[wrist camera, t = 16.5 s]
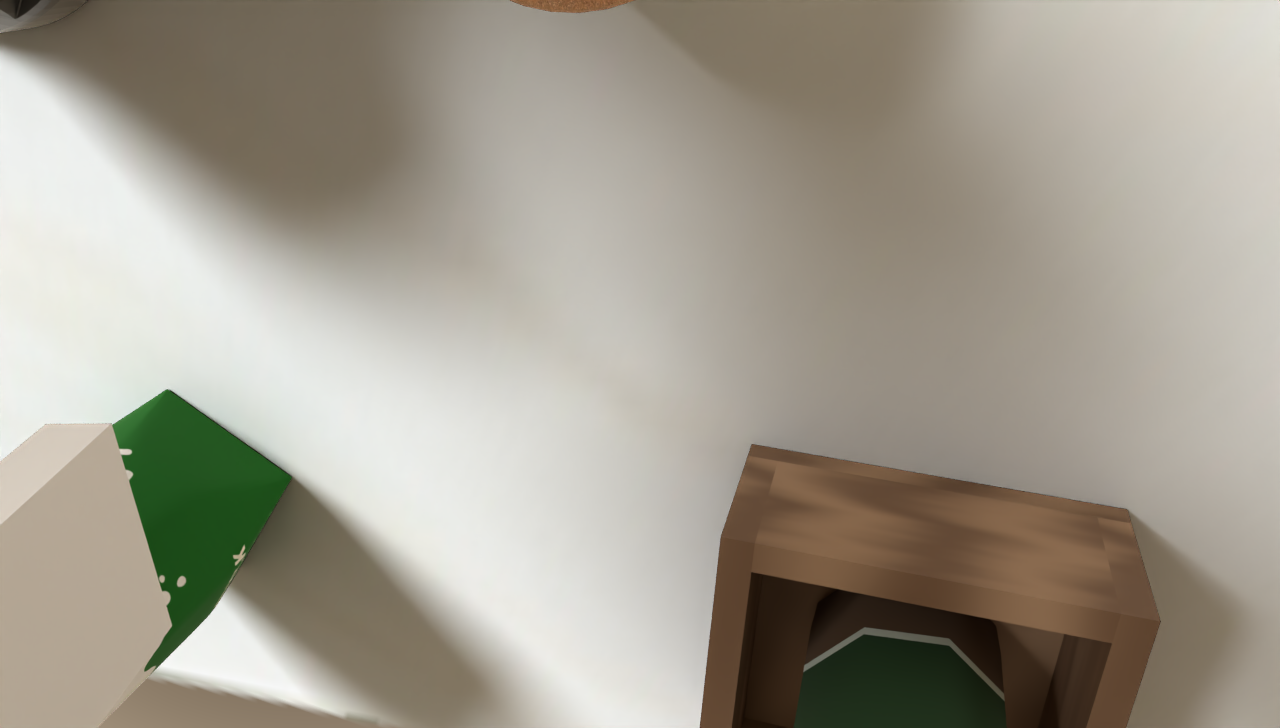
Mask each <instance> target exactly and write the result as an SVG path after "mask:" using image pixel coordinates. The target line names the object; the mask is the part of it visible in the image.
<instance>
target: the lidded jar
mask: <svg viewBox="0 0 1280 728" xmlns="http://www.w3.org/2000/svg"><path fill="white" fill-rule="evenodd" d="M510 1H513V2H515V3H518V4H520V5H523V6H526V7H531V8H536V9H540V10H545V11H550V12H569V13H582V12H589V11H597V10H604V9H609V8H612V7H615V6H618V5H622V4H625V3H628V2H631V1H634V0H510Z"/></svg>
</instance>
